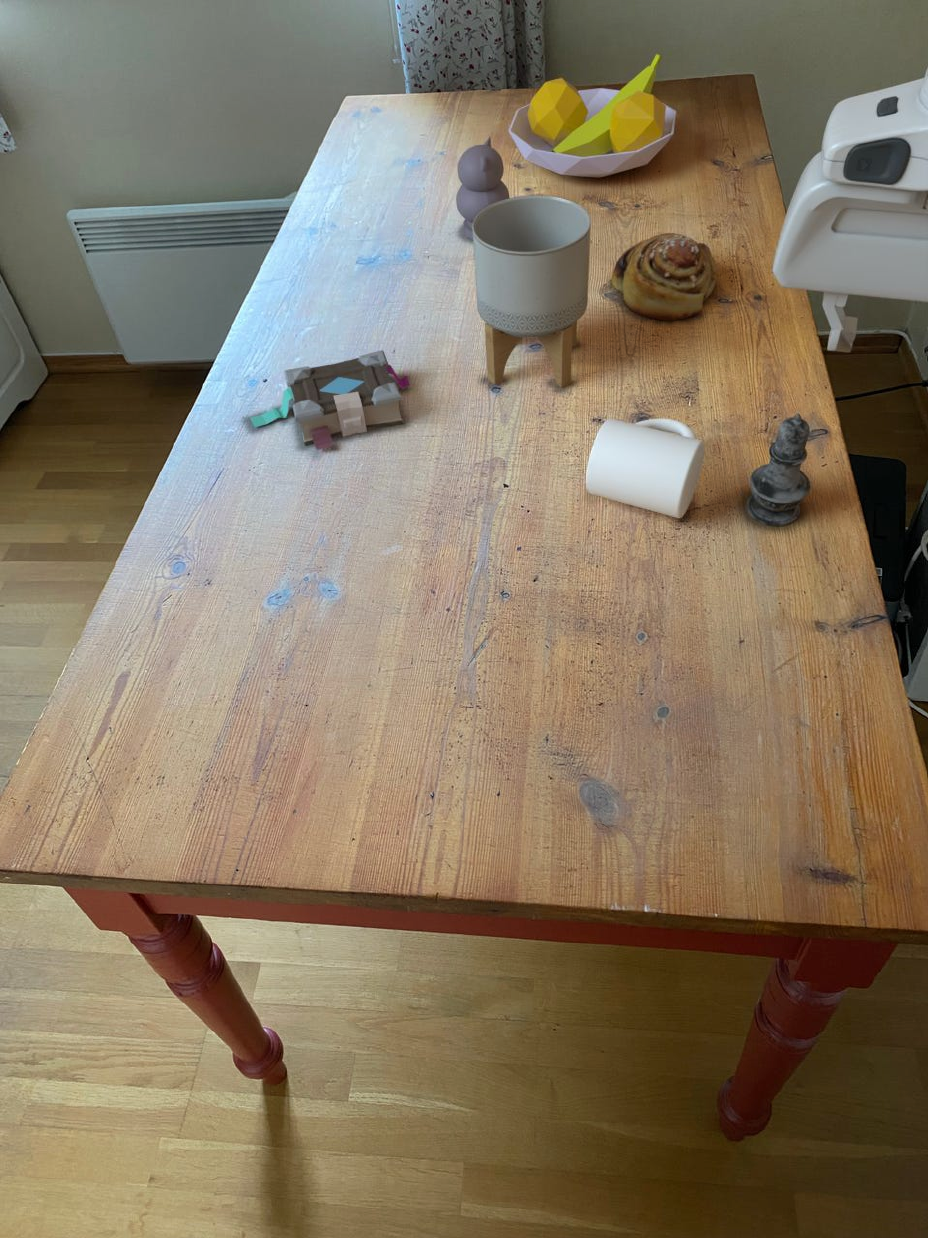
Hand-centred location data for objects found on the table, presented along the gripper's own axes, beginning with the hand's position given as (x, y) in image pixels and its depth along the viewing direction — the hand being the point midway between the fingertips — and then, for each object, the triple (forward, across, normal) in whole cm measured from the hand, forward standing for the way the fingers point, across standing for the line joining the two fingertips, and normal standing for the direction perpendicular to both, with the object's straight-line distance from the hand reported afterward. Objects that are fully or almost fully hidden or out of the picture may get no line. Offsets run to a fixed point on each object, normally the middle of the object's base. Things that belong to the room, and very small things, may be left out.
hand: (913, 355), depth 59 cm
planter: (+29, +36, -35) cm, 58 cm away
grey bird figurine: (+29, +52, -66) cm, 89 cm away
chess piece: (+29, +5, -16) cm, 34 cm away
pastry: (+29, +23, -55) cm, 66 cm away
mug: (+29, +18, -16) cm, 38 cm away
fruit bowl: (+29, +41, -93) cm, 106 cm away
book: (+29, +56, -19) cm, 66 cm away
